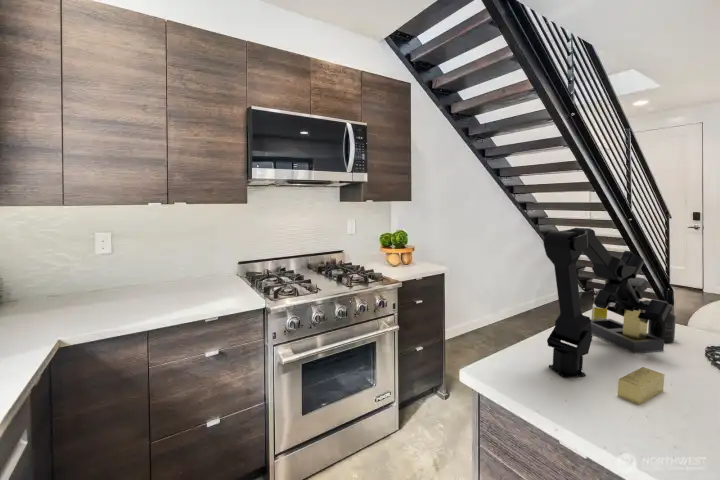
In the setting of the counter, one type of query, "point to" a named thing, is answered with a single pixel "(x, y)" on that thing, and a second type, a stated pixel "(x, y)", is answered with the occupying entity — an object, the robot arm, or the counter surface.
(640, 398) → the block
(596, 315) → the supplement bottle
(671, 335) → the supplement bottle
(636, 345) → the compartment tray
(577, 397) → the counter surface
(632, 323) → the brass block
